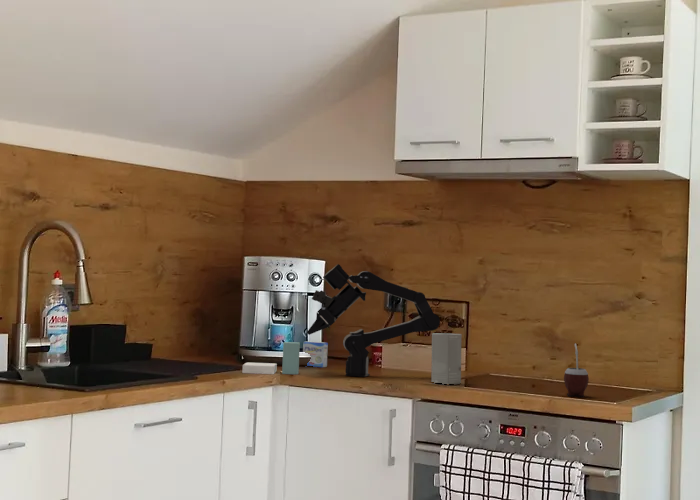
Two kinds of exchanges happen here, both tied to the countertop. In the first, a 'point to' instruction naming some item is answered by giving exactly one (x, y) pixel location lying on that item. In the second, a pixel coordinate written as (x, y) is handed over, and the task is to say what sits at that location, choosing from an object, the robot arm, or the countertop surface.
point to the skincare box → (446, 358)
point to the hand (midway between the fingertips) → (308, 332)
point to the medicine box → (316, 353)
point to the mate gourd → (576, 379)
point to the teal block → (290, 358)
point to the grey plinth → (259, 368)
